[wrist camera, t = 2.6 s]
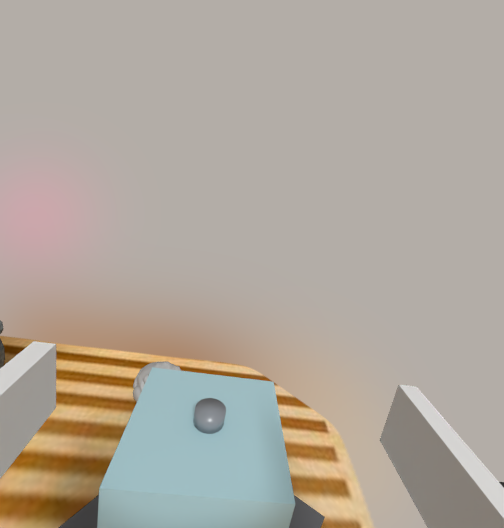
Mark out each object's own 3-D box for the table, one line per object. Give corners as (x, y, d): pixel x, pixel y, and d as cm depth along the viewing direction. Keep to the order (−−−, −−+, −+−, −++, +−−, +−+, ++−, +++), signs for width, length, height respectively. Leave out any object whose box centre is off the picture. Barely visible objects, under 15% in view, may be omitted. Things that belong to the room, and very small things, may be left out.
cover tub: (93, 601, 21) (100, 472, 18) (143, 450, 32) (153, 356, 29) (265, 609, 22) (299, 489, 19) (255, 461, 33) (275, 371, 30)
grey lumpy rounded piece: (140, 441, 33) (145, 387, 32) (123, 399, 39) (127, 350, 37) (191, 423, 37) (199, 373, 35) (170, 386, 42) (175, 342, 41)
